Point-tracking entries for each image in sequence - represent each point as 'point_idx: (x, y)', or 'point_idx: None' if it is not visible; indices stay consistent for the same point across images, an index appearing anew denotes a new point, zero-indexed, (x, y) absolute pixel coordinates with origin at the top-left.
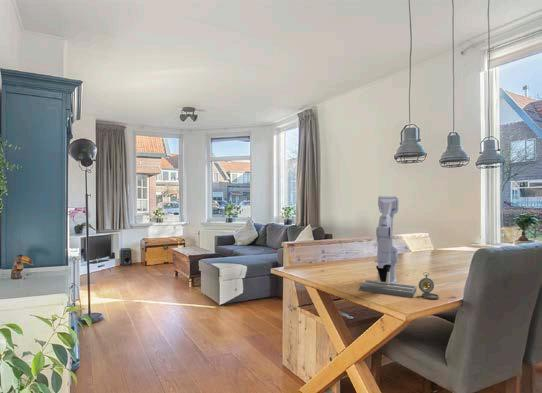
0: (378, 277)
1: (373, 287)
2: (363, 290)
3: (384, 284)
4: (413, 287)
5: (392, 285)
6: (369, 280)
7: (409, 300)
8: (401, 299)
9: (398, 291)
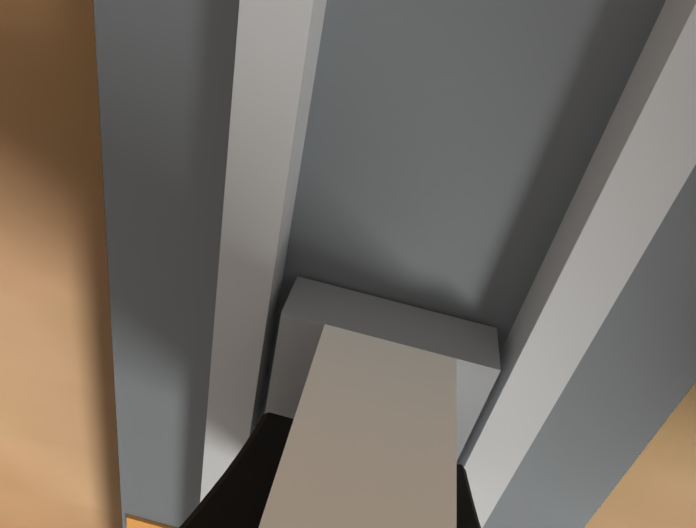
0: (285, 447)
1: (111, 185)
2: None
3: None
4: None
5: None
6: (637, 114)
7: (23, 503)
8: (6, 450)
9: (126, 501)
